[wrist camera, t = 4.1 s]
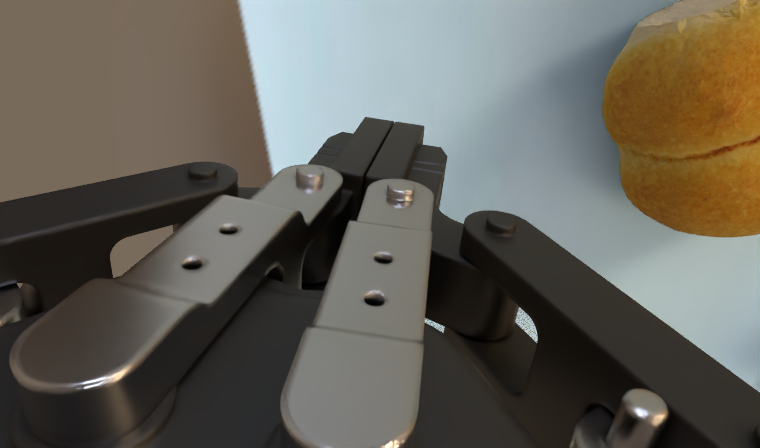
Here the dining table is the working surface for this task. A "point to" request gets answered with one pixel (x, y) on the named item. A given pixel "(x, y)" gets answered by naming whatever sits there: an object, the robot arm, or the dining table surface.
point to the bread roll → (691, 116)
